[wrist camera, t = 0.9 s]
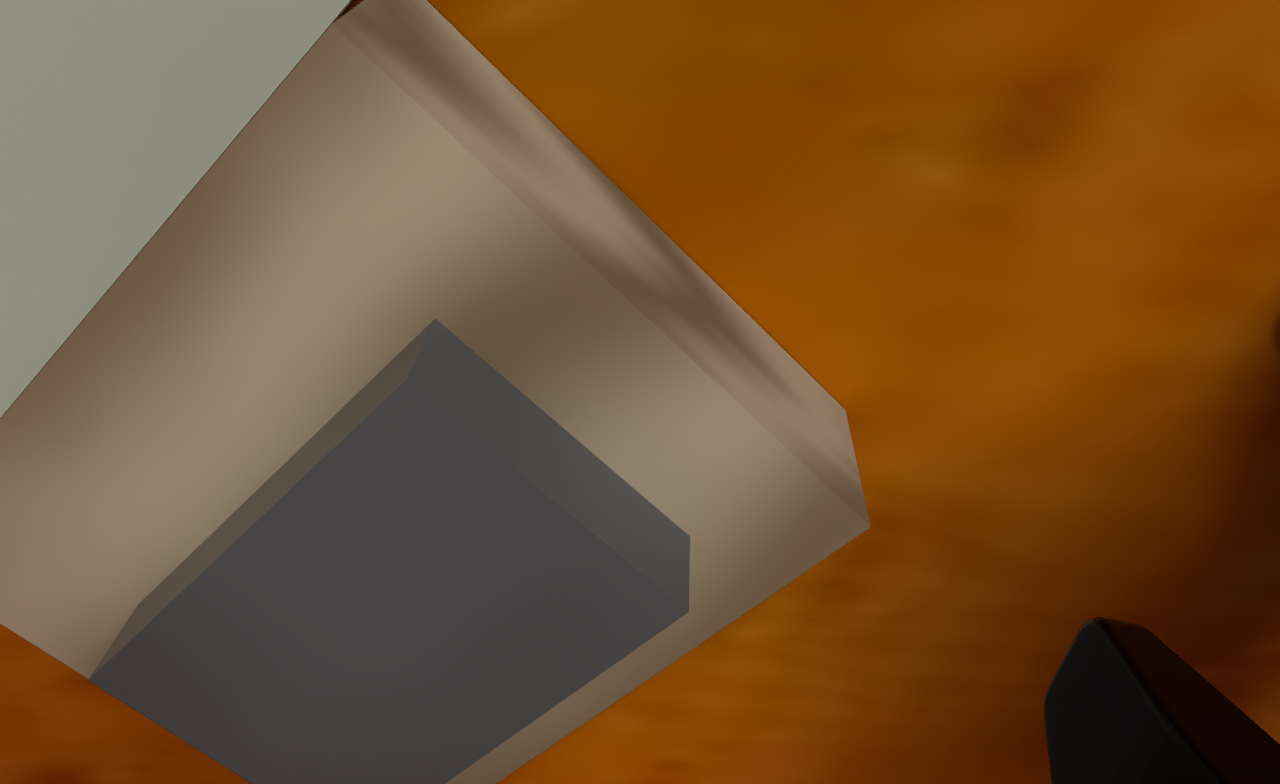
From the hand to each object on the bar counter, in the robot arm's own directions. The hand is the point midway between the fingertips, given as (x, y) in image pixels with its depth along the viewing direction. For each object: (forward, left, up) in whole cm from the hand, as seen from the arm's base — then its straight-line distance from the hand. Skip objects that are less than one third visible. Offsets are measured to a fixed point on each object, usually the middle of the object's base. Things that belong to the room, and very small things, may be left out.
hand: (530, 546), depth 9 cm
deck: (-2, +8, -13) cm, 15 cm away
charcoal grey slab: (-3, +8, -9) cm, 12 cm away
